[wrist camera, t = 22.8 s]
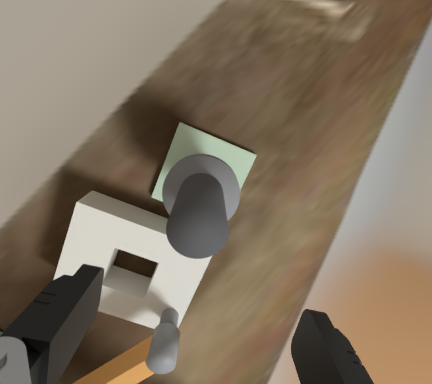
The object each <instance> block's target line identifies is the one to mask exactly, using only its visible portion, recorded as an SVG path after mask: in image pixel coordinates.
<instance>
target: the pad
mask: <svg viewBox="0 0 432 384" xmlns="http://www.w3.org/2000/svg"><path fill="white" fill-rule="evenodd" d="M195 154H208V155H212V156H215V157H217V158H219V159H221V160H223V161H224V162H226V163H227V164H228V165H229V166H230V167H231V169H232V170H233V172H234V173H235V175H236V177H237V180H238V183H239V187H240V190H241V188H242V186H243V183H244V181H245V179H246V177H247V175H248V173H249V171H250V168H251V166H252V164H253V162H254V160H255V158H256V156H257V155H256V154H254V153H252V152H249V151H247V150H245V149H242V148H240V147H238V146H235V145H233V144H231V143H228V142H226V141H224V140H221V139H219V138H217V137H214V136H212V135H209V134H207V133H205V132H202V131H200V130H198V129H195V128H193V127H191V126H188V125H186V124H184V123H181V122H179V125H178V128H177V130H176V133H175V136H174V138H173V141H172V144H171V146H170V149H169V152H168V154H167V157H166V159H165V162H164V165H163V167H162V170H161V173H160V175H159V178H158V181H157V183H156V186H155V189H154V191H153V194H152V198H154V199H157V200H159V201H162V202H163V198H162V188H163V183H164V180H165V178H166V176H167V174H168V173H169V171H170V169H171V168H172V167H173V166H174V165H175V164H176V163H177V162H178V161H180V160H181V159H183V158H185V157H187V156H190V155H195Z"/></svg>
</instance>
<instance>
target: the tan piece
mask: <svg viewBox="0 0 432 384" xmlns="http://www.w3.org/2000/svg"><path fill="white" fill-rule="evenodd" d="M179 336H180V331H179V329H178V328H177V327H176V326H175V325H174V324H171V323H161V324H159V325H157V326H156V327H155V329H154V332H153V335H152V336H150V337H149V338H147V339H145V340H144V341H142V342H140V343H139V344H137V345H135V346H134V347H132V348H130V349H129V350H127V351H125V352H124V353H122V354H121V355H119V356H117V357H116V358H114V359H112V360H111V361H109V362H107V363H106V364H104V365H102V366H101V367H99V368H97V369H96V370H94V371H92V372H91V373H89V374H87V375H86V376H84V377H82V378H81V379H79V380H78V381H76V382H74V383H73V384H137V383H139V382H141V381H142V380H144V379H146V378H148V377H149V376H151V375H153V374H154V373H156V374H167V373H169V372H171V371H172V370H173V369H174V368H175V366H176V359H177V352H178V344H179Z"/></svg>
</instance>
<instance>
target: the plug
mask: <svg viewBox="0 0 432 384" xmlns="http://www.w3.org/2000/svg"><path fill="white" fill-rule="evenodd" d="M162 198H163V203H164V206H165V208H166V210H167V212H168V214H169V215H170V216H169V218H168V221H167V225H166V235H167V239H168V241H169V243H170V245H171V246H172V247H173V249H174V250H175V251H177V252H178V253H179V254H181V255H183V256H185V257H188V258H193V259H202V258H207V257H210V256H212V255H214V254H216V253H217V252H218V251H220V250H221V249H222V247H223V246H224V245H225V243H226V241H227V238H228V233H229V228H228V220H229V219H230V218H231V217H232V216H233V214H234V213H235V211H236V209H237V207H238V204H239V200H240V187H239V183H238V180H237V177H236V175H235V173H234V172H233V170H232V169H231V167H230V166H229V165H228V164H227V163H226V162H224V161H223V160H221V159H219V158H217V157H215V156H212V155H208V154H195V155H190V156H187V157H185V158H183V159H181V160H180V161H178V162H177V163H176V164H175V165H174V166H173V167H172V168H171V169H170V171H169V173H168V174H167V176H166V178H165V180H164V183H163V188H162Z"/></svg>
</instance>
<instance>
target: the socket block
mask: <svg viewBox="0 0 432 384" xmlns="http://www.w3.org/2000/svg"><path fill="white" fill-rule="evenodd" d="M167 221H168V219H167V218H165V217H162V216H159V215H157V214H154V213H152V212H149V211H146V210H144V209H141V208H138V207H136V206H133V205H130V204H128V203H125V202H122V201H120V200H117V199H114V198H112V197H109V196H106V195H104V194H101V193H98V192H96V191H93V190H92V191H91V192H89V193H88V194H87V195H85V196H84V197H83V198H81V199H80V200H78V201H77V202H76V206H75V209H74V212H73V216H72V219H71V222H70V226H69V229H68V232H67V236H66V239H65V243H64V246H63V249H62V253H61V256H60V259H59V263H58V266H57V269H56V273H55V276H54V280H55V279H57V278H59V277H60V276H62V275H70V276H73V275H74V274H75V273H76V271H77V270H78V269H79V268H80V267H81V266H82V265H83V264H87V265H92V266H97V267H102V268H104V277H103V284H102V291H101V297H100V303H99V307H98V310H97V311H100V312H103V313H106V314H109V315H112V316H116V317H119V318H122V319H125V320H128V321H131V322H134V323H138V324H141V325H144V326H147V327H150V328H153V329H155V327H156V326H157V325H159V324H161V323H171V324H174V325H175V326H176V327H177V328H178V327H179V325H180V323H181V321H182V319H183V317H184V314H185V312H186V310H187V308H188V306H189V304H190V302H191V300H192V297H193V295H194V293H195V291H196V289H197V287H198V285H199V283H200V280H201V278H202V276H203V274H204V272H205V270H206V268H207V266H208V263H209V261H210V259H211V257H212V256H210V257H207V258H202V259H193V258H188V257H185V256H183V255H181V254H179V253H178V252H177V251H175V250H174V249H173V247H172V246H171V245H170V243H169V241H168V239H167V235H166V225H167ZM119 249H120V250H123V251H126V252H129V253H131V254H134V255H137V256H140V257H143V258H146V259H148V260H151V261H154V262H157V265H156V268H155V270H154V273H153V275H152V277H151V278H149V277H146V276H143V275H140V274H137V273H134V272H131V271H128V270H125V269H123V268H120V267H117V266H114V265H113V264H114V261H115V258H116V256H117V253H118V250H119Z"/></svg>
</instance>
